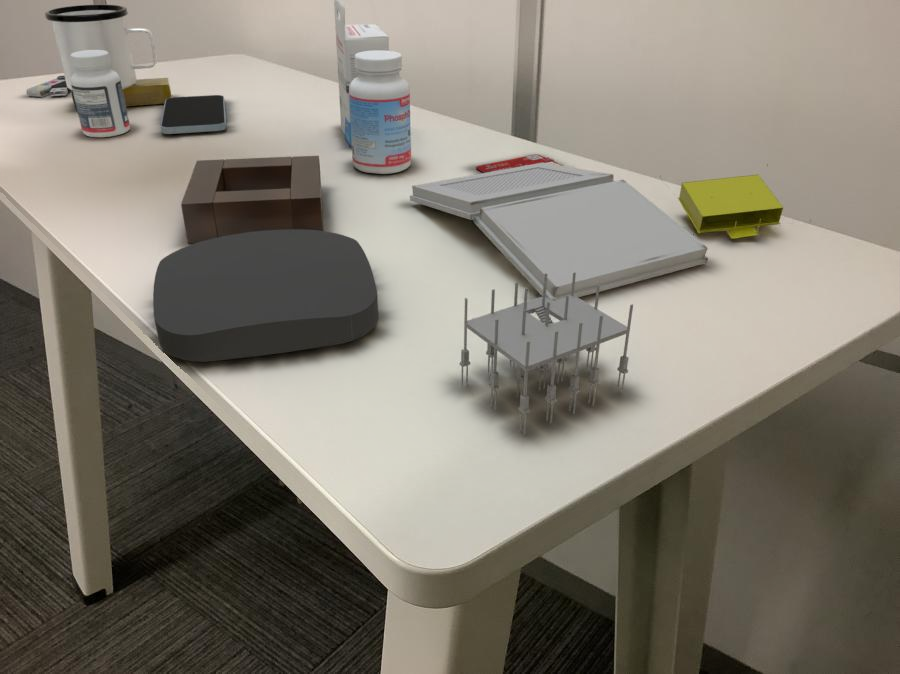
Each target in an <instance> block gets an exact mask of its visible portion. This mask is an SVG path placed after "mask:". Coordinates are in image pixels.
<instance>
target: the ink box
mask: <svg viewBox="0 0 900 674" xmlns="http://www.w3.org/2000/svg"><path fill="white" fill-rule="evenodd" d="M333 7H334V8H333V9H334V25H335V26H334V28H335V45H336V46H335V47H336V64H337V79H338V80H337V81H338V94H339V113H340V115H339V116H340V128H341V131H342V134H343V135H344V138H345V140H346V141H347V144H348V145H349V147H350V148H352V141H351V122H350V102H349V86H350V83H351V82H352V80H353V79H355V78H356V77H358V72H357V71H356V68H355V54H357V53H359V52H364V51H373V50H384V51H390V42H389V41H390V37H389V36H388V34H386V33H385V32H384V31H383V30H382V28H380V27H379V26H378V25H377V24H376V23H365V24H364V23H363V24H362V23H359V24H358V23H357V24H346V8H345V5H344V4H343V3H342V2H341V1H340V0H333Z"/></svg>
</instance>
